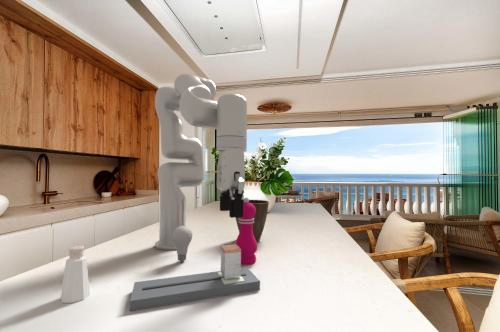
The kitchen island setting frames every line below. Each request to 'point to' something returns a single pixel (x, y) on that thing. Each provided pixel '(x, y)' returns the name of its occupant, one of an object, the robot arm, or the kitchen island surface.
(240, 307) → the kitchen island surface
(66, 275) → the pepper shaker
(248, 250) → the pepper mill
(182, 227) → the lightbulb
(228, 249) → the fader knob
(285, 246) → the kitchen island surface
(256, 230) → the plant pot
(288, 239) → the kitchen island surface
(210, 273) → the fader panel
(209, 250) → the kitchen island surface
